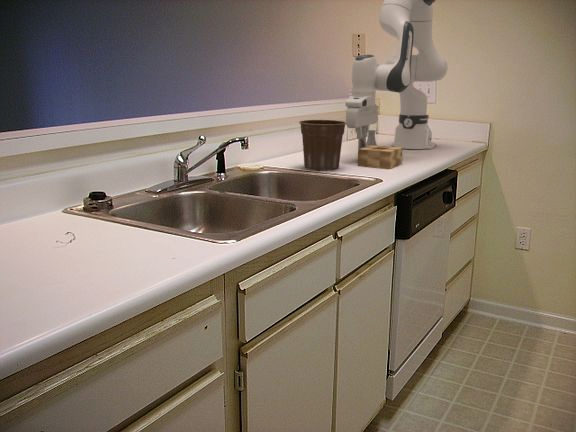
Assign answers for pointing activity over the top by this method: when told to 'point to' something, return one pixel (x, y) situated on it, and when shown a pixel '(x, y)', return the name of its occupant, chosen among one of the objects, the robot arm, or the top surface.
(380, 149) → the bead block
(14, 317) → the top surface
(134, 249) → the top surface
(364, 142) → the rod
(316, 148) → the plant pot
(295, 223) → the top surface
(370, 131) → the flask
